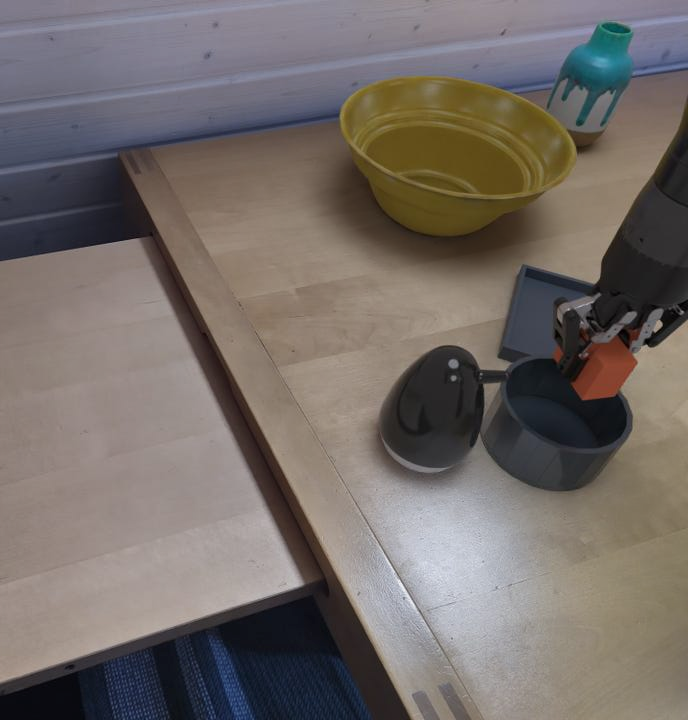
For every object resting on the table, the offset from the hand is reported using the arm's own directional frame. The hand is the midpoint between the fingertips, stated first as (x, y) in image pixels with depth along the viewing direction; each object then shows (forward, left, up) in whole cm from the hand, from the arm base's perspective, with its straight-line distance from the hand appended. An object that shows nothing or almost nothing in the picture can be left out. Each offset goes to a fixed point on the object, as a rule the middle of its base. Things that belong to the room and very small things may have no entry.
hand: (584, 373), depth 71 cm
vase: (-35, -59, -12) cm, 70 cm away
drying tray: (-11, -16, -11) cm, 23 cm away
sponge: (0, 0, 0) cm, 0 cm away
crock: (0, 0, -11) cm, 11 cm away
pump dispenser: (+14, -1, -12) cm, 18 cm away
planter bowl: (-4, -43, -12) cm, 45 cm away
